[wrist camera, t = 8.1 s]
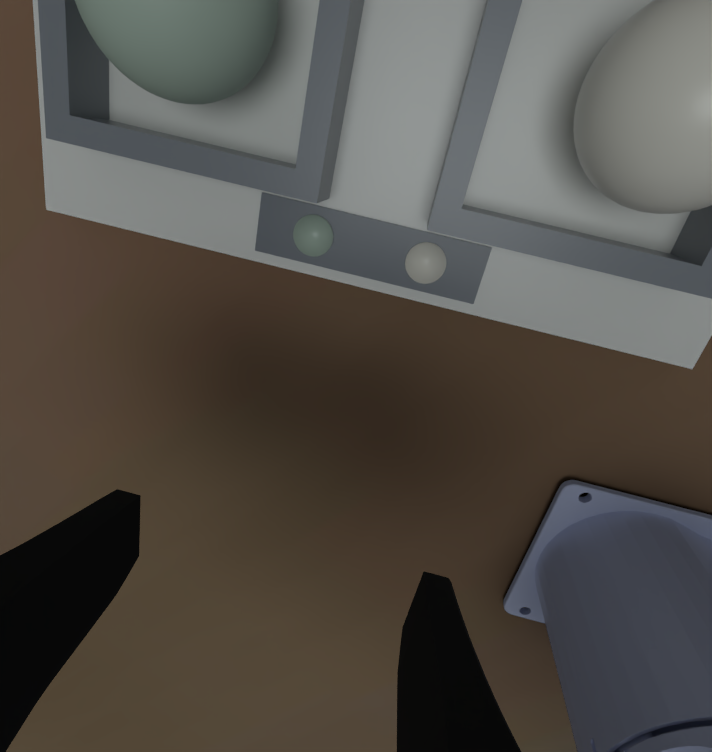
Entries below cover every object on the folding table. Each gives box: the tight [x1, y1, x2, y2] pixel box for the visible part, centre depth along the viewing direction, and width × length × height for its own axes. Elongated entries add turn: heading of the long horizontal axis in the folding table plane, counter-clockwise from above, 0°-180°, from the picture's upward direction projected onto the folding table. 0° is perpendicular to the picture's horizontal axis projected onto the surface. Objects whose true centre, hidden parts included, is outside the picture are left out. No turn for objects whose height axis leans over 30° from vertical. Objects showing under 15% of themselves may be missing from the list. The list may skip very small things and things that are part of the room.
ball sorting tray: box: [33, 0, 712, 369], centre depth 14 cm, size 24×14×3 cm, turn 78°
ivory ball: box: [573, 0, 712, 214], centre depth 12 cm, size 5×5×5 cm
